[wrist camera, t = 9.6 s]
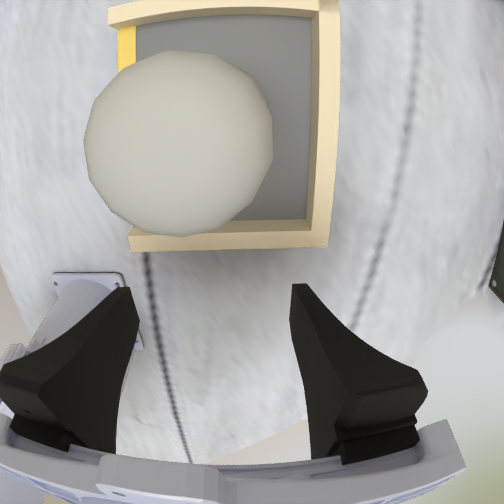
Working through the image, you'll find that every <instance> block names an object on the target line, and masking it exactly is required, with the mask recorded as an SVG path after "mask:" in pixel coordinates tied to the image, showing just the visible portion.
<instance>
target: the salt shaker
mask: <svg viewBox="0 0 504 504" xmlns="http://www.w3.org/2000/svg"><path fill="white" fill-rule="evenodd" d="M83 141H84V149H85V156H86V162H87V169H88V175H89V180H90V181H91V183H92V184H93V186H94V187H95V189H96V190H97V192H98V193H99V195H100V196H101V198H102V199H103V200H104V202H105V203H106V205H107V206H108V208H109V209H110V210H111V212H113V213H114V214H116V215H118V216H119V217H121V218H122V219H124V220H125V221H127V222H128V223H130V224H131V225H133V226H135V227H136V228H138V229H139V230H141V231H142V232H146V233H153V234H160V235H167V236H174V237H181V238H183V237H187V236H190V235H194V234H198V233H202V232H206V231H210V230H214V229H218V228H221V227H222V226H223V225H225V224H226V223H227V222H228V221H229V220H231V219H232V218H233V217H234V216H235V215H237V214H238V213H239V212H240V211H242V210H243V209H244V208H245V207H246V206H248V205H249V204H250V203H251V202H252V201H253V199H254V197H255V195H256V193H257V191H258V189H259V187H260V185H261V183H262V181H263V179H264V177H265V175H266V173H267V171H268V169H269V167H270V165H271V163H272V160H273V131H272V115H271V113H270V111H269V109H268V107H267V100H266V98H265V96H264V94H263V92H262V90H261V88H260V86H259V84H258V82H257V81H256V79H255V78H253V77H252V76H250V75H249V74H247V73H246V72H244V71H243V70H241V69H240V68H238V67H237V66H235V65H231V64H229V63H228V62H226V61H225V60H223V59H221V58H220V57H218V56H216V55H213V54H205V53H197V52H187V51H176V50H169V51H163V52H161V53H158V54H156V55H153V56H151V57H148V58H146V59H143V60H141V61H139V62H136V63H134V64H132V65H130V66H127V67H125V68H123V69H122V70H121V71H120V72H119V73H118V74H117V75H116V77H115V78H114V79H113V80H112V81H111V82H110V83H109V84H108V85H107V86H106V88H105V89H104V90H103V91H102V92H101V93H100V94H99V96H98V97H97V98H96V99H95V100H94V103H93V106H92V110H91V113H90V117H89V120H88V124H87V128H86V132H85V136H84V140H83Z"/></svg>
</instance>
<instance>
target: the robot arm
mask: <svg viewBox="0 0 504 504" xmlns="http://www.w3.org/2000/svg"><path fill="white" fill-rule="evenodd" d="M50 279H51V282H52V284H53V287H54V289H55V292H56V294H57V297H58V298H57V300H56V301H55V303H54V304H53V306H52V308H51V309H50V311H49V312H48V314H47V315H46V317H45V318H44V320H43V322H42V323H41V325H40V326H39V328H38V330H37V331H36V333H35V335H34V336H33V338H32V340H31V341H30V343H29V345H28V346H27V347H25V346H24V345H23V344H22V343H18V344H12V345H10V347H9V348H8V349H7V351H6V352H5V353H4V355H3V356H2V358H1V359H0V504H42V502H43V500H44V498H45V497H46V496H49V495H51V496H53V497H55V498H58V499H60V500H62V501H65V502H68V503H70V504H399V503H402V502H405V501H407V500H410V499H413V498H415V497H418V496H420V495H423V494H425V493H427V492H430V491H432V490H435V489H436V488H438V487H440V486H441V485H443V484H444V483H446V482H448V481H449V480H451V479H452V478H454V477H455V476H457V475H458V474H459V473H461V472H462V471H464V470H465V468H466V466H465V463H464V460H463V458H462V455H461V453H460V450H459V447H458V445H457V442H456V440H455V438H454V435H453V433H452V430H451V428H450V426H449V423H448V421H447V420H442V421H439V422H436V423H434V424H430V425H427V426H425V427H423V428H421V429H419V430H418V431H417V430H416V428H415V426H414V425H415V424H416V423H417V419H416V417H415V413H416V412H417V410H418V409H419V408H420V406H421V405H422V404H423V402H424V400H425V399H426V397H427V393H428V390H427V388H426V386H425V383H424V381H423V379H422V377H421V375H420V374H419V372H418V370H416V369H414V368H412V367H409V366H407V365H405V364H402V363H400V362H398V361H396V360H394V359H392V358H390V357H388V356H386V355H384V354H383V353H381V352H379V351H378V350H376V349H375V348H373V347H372V346H370V345H368V344H367V343H366V342H364V341H363V340H361V339H360V338H359V337H358V336H356V335H355V334H354V333H352V332H351V331H350V330H349V329H348V328H347V327H345V326H344V325H343V324H342V323H341V322H340V321H339V320H338V319H337V318H336V317H335V316H334V315H333V314H332V313H331V311H330V310H329V309H328V308H327V307H326V306H325V305H324V304H323V303H322V301H321V300H320V299H319V298H318V297H317V295H316V294H315V293H314V292H313V291H312V289H311V288H310V287H309V286H308V285H307V284H306V283H303V284H292V295H291V306H290V317H289V321H290V329H291V336H292V342H293V345H294V349H295V353H296V357H297V361H298V365H299V368H300V372H301V376H302V380H303V385H304V391H305V398H306V406H307V414H308V423H309V433H310V444H311V460H306V461H297V462H287V463H275V464H259V465H202V464H190V463H178V462H167V461H158V460H150V459H143V458H136V457H130V456H124V455H117V454H116V437H117V416H118V408H119V400H120V396H121V394H122V391H123V388H124V384H125V381H126V377H127V374H128V370H129V367H130V364H131V360H132V357H133V354H134V351H135V350H137V351H141V350H143V348H144V345H143V342H142V339H141V336H140V334H139V331H138V328H139V322H140V320H139V317H138V314H137V311H136V307H135V304H134V301H133V297H132V294H131V290H130V287H125V286H124V282H123V279H122V276H121V275H120V274H118V273H53V274H52V275H51V276H50ZM56 282H57V283H56ZM116 282H117V283H119V284H120V285H118V284H117V283H116Z"/></svg>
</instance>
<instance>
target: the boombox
mask: <svg viewBox="0 0 504 504" xmlns="http://www.w3.org/2000/svg"><path fill="white" fill-rule="evenodd" d="M489 287H490V288H491V290H492V291H493V292H494V293H495V294H496V295H497V296H498V297H499V299H500V300H501V301H502V302H503V303H504V222H503V227H502V233H501V238H500V243H499V247H498V252H497V256H496V260H495V264H494V268H493V272H492V275H491V279H490V283H489Z"/></svg>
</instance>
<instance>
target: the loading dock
mask: <svg viewBox="0 0 504 504" xmlns="http://www.w3.org/2000/svg"><path fill="white" fill-rule="evenodd" d="M107 25H108V26H111V27H113V28H115V29H118V73H119V72H120V71H121V70H122V69H123V68H125V67H127V66H130V65H132V64H134V63H136V62H139V61H141V60H143V59H146V58H148V57H151V56H153V55H156V54H158V53H161V52H163V51H169V50H176V51H187V52H197V53H205V54H213V55H216V56H218V57H220V58H221V59H223V60H225V61H226V62H228V63H229V64H231V65H235V66H237V67H238V68H240V69H241V70H243V71H244V72H246V73H247V74H249V75H250V76H252V77H253V78H255V79H256V81H257V82H258V84H259V86H260V88H261V90H262V92H263V94H264V96H265V98H266V100H267V107H268V109H269V111H270V113H271V115H272V131H273V160H272V163H271V165H270V167H269V169H268V171H267V173H266V175H265V177H264V179H263V181H262V183H261V185H260V187H259V189H258V191H257V193H256V195H255V197H254V199H253V201H252V202H251V203H250V204H249V205H248V206H246V207H245V208H244V209H243V210H242V211H240V212H239V213H238V214H237V215H235V216H234V217H233V218H232V219H231V220H229V221H228V222H227V223H226V224H225V225H223V226H222V227H221V228H218V229H214V230H210V231H206V232H202V233H198V234H194V235H190V236H187V237H183V238H181V237H174V236H167V235H160V234H153V233H146V232H142V231H141V230H139V229H138V228H136V227H135V226H134V227H133V229H132V230H131V232H130V233H129V235H128V241H129V246H130V250H131V252H162V251H199V250H236V249H275V248H316V247H328V239H329V231H330V222H331V213H332V204H333V194H334V183H335V171H336V158H337V143H338V126H339V103H340V11H339V0H139V1H135V2H130V3H126V4H122V5H118V6H114V7H110V8H108V24H107Z"/></svg>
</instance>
